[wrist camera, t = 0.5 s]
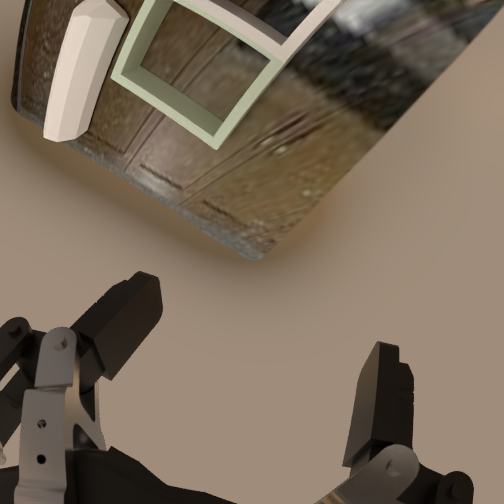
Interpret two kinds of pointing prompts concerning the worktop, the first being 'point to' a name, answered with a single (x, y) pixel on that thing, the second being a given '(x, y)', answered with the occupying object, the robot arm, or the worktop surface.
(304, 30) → the white bin
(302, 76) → the worktop surface
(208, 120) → the pale green square frame
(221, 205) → the worktop surface
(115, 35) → the crystal
